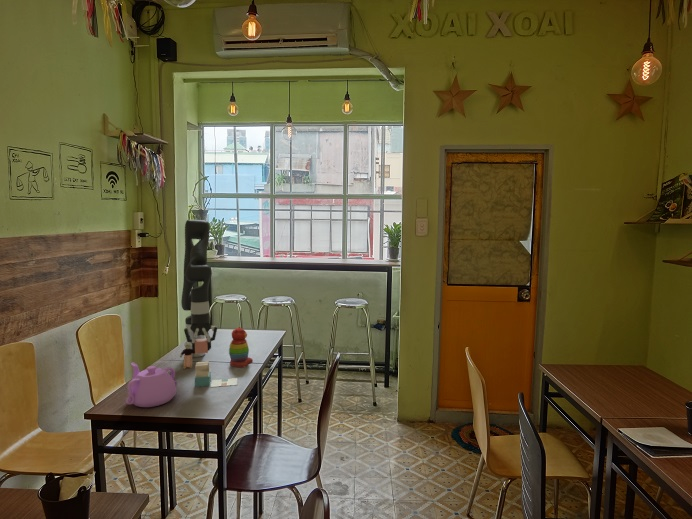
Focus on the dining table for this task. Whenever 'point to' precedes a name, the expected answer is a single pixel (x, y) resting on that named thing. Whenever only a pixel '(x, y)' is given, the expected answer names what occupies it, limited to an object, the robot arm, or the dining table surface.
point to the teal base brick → (203, 380)
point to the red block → (201, 346)
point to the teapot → (151, 386)
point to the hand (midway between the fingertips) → (201, 350)
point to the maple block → (202, 369)
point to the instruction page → (224, 382)
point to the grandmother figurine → (187, 355)
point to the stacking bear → (239, 349)
